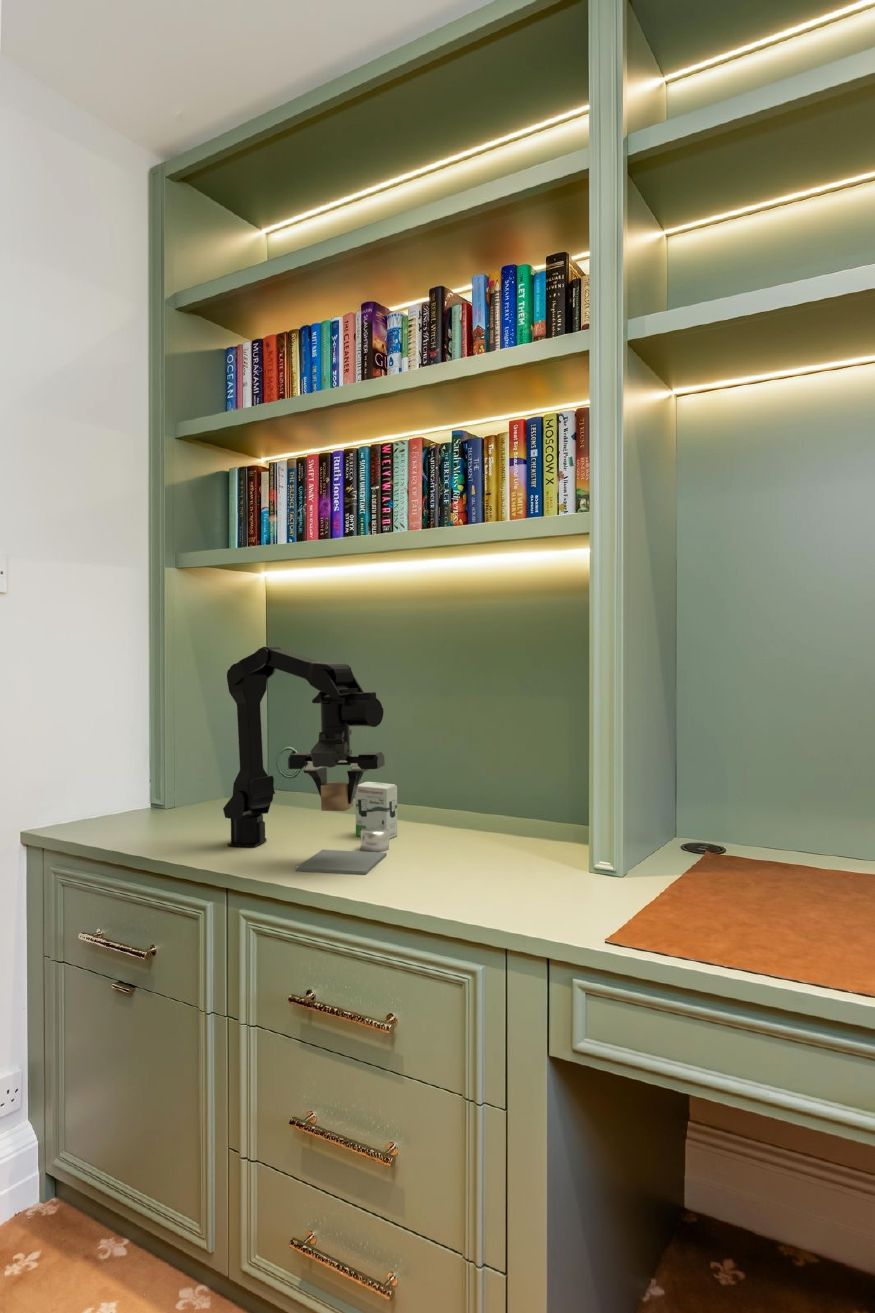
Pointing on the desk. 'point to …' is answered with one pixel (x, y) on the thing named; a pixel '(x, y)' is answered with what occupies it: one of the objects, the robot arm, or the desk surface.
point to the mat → (342, 862)
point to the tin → (374, 839)
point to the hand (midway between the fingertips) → (337, 803)
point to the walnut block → (335, 796)
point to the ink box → (376, 807)
